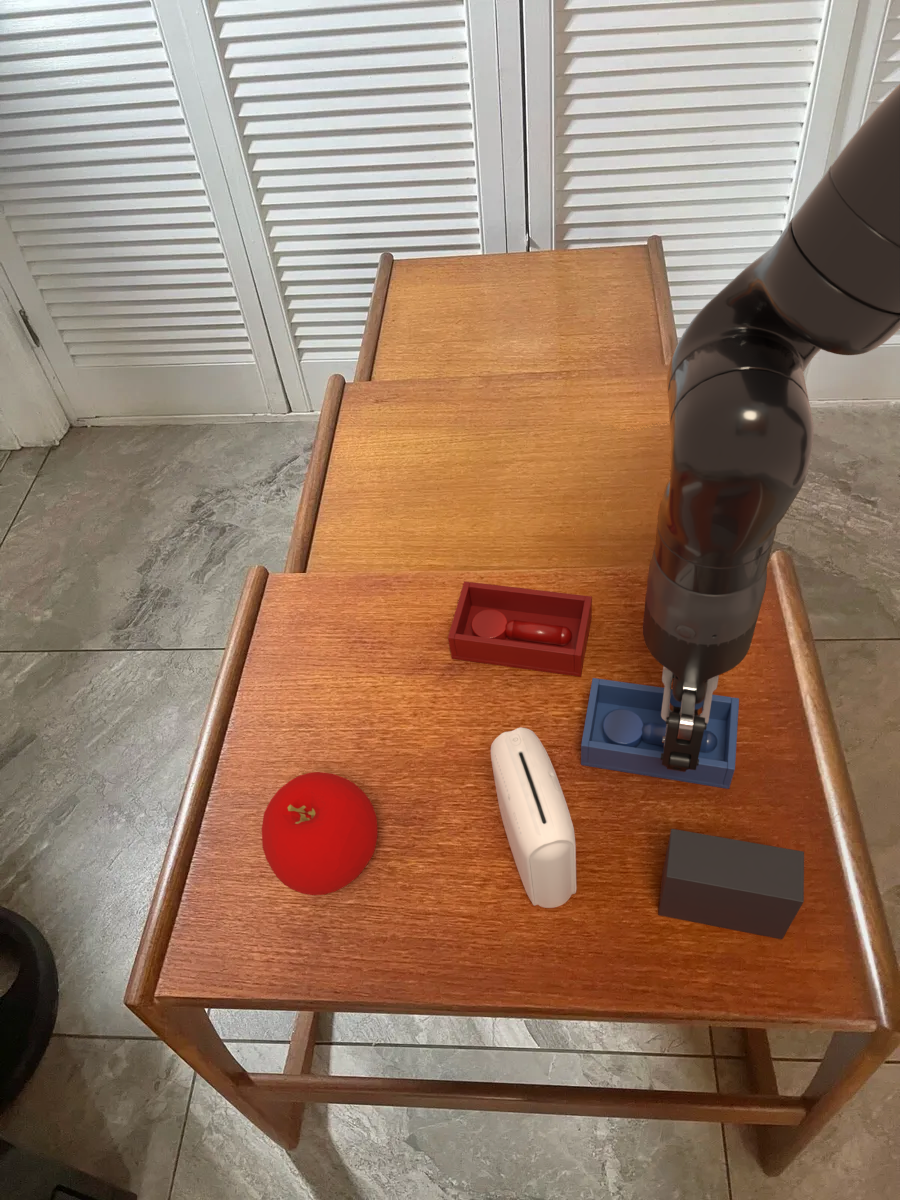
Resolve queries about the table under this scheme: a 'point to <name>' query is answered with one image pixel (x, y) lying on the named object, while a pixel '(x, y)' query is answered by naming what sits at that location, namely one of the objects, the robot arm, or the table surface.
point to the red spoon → (517, 629)
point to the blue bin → (646, 757)
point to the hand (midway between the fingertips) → (681, 717)
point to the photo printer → (535, 817)
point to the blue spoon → (642, 731)
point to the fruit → (319, 833)
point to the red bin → (523, 608)
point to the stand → (731, 883)
